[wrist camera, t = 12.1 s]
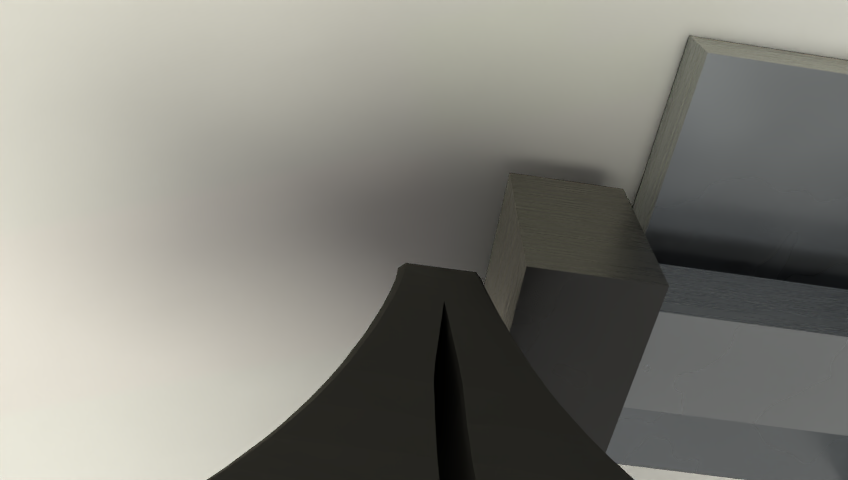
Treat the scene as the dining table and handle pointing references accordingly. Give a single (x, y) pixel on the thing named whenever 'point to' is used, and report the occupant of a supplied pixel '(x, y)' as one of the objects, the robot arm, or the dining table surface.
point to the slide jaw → (657, 320)
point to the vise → (746, 229)
